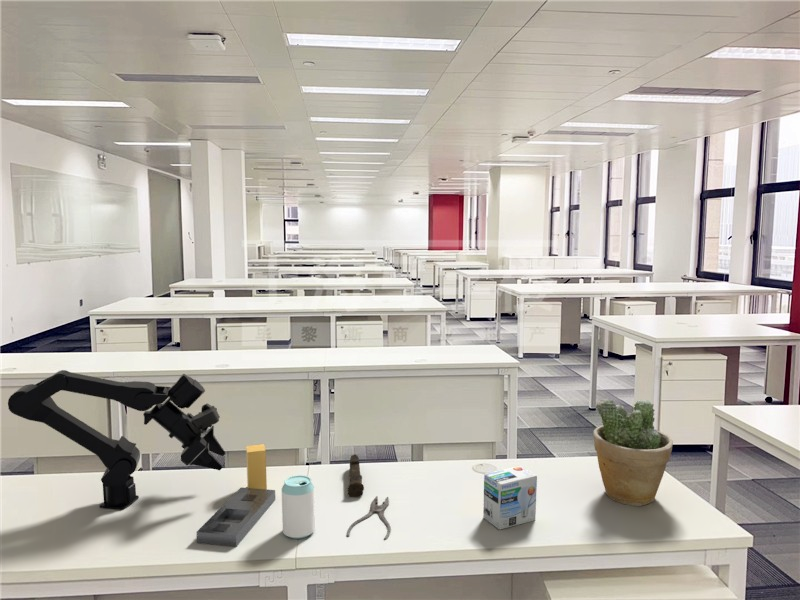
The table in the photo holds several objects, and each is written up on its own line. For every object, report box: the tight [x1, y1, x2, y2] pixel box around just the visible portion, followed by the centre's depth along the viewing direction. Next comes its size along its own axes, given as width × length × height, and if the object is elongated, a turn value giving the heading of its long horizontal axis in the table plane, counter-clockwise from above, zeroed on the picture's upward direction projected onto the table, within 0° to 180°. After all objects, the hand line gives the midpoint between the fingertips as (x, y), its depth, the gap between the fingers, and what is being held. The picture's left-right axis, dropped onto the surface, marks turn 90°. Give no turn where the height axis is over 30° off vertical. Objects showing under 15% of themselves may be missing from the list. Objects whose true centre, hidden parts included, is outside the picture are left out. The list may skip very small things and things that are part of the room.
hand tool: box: [347, 453, 365, 498], centre depth 157 cm, size 19×4×5 cm, turn 3°
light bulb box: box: [482, 465, 538, 530], centre depth 137 cm, size 11×7×11 cm, turn 117°
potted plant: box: [592, 398, 674, 507], centre depth 147 cm, size 18×19×25 cm
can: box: [281, 474, 316, 540], centre depth 131 cm, size 7×7×12 cm
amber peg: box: [245, 443, 268, 490], centre depth 152 cm, size 4×4×11 cm
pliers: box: [346, 495, 392, 541], centre depth 138 cm, size 10×1×20 cm
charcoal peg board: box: [196, 487, 276, 548], centre depth 137 cm, size 9×22×3 cm, turn 170°
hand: (222, 461), depth 150 cm, fingers open, 9 cm apart
